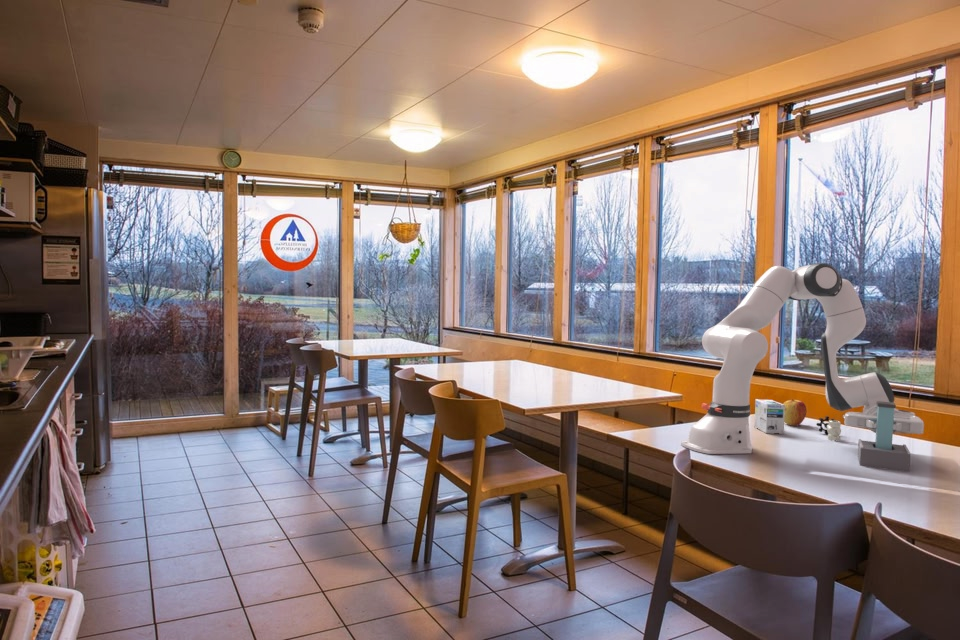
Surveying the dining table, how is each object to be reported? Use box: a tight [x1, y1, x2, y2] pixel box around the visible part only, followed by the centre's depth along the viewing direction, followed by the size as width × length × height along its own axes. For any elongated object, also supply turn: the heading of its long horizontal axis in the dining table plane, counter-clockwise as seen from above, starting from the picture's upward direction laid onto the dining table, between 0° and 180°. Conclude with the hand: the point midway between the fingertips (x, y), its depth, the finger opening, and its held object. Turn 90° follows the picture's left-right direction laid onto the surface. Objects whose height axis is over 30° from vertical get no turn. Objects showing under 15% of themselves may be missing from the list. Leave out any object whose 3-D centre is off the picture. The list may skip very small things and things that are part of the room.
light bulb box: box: [754, 398, 785, 435], centre depth 235 cm, size 11×7×11 cm, turn 179°
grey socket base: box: [857, 438, 911, 473], centre depth 188 cm, size 12×12×6 cm
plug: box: [874, 401, 897, 450], centre depth 188 cm, size 4×4×18 cm
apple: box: [782, 398, 807, 427], centre depth 247 cm, size 9×9×10 cm
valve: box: [816, 415, 842, 442], centre depth 226 cm, size 7×7×12 cm
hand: (884, 427), depth 187 cm, fingers closed on plug, 4 cm apart
